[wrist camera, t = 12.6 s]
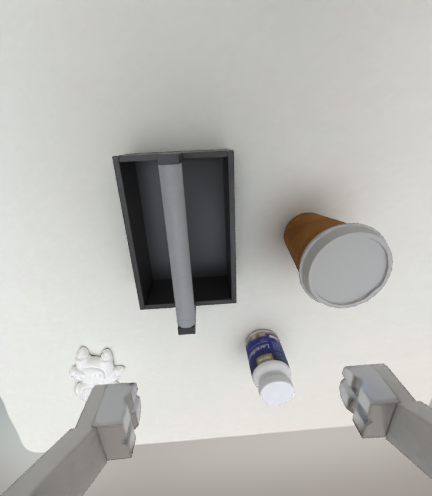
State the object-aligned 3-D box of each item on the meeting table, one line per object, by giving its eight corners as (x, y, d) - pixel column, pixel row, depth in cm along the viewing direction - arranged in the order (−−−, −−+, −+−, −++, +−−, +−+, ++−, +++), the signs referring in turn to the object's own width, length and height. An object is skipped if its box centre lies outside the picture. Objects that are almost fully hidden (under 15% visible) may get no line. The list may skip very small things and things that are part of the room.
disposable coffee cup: (281, 272, 39) (313, 323, 28) (265, 214, 36) (294, 246, 25) (343, 251, 39) (400, 295, 28) (332, 191, 35) (393, 213, 24)
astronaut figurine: (127, 349, 43) (122, 363, 40) (122, 400, 47) (117, 416, 45) (71, 343, 42) (62, 357, 39) (71, 396, 46) (63, 412, 44)
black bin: (129, 152, 32) (92, 158, 21) (226, 148, 32) (241, 150, 21) (150, 282, 39) (130, 338, 28) (230, 277, 39) (242, 330, 28)
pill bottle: (259, 322, 43) (275, 372, 34) (285, 338, 44) (307, 389, 35) (238, 345, 44) (248, 399, 35) (263, 359, 46) (279, 414, 37)
